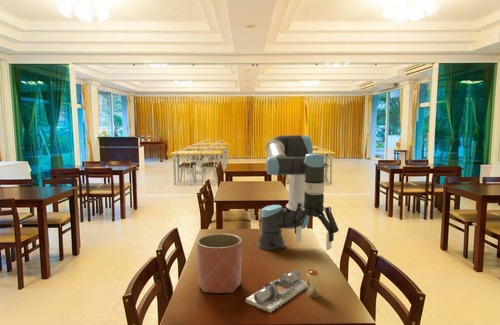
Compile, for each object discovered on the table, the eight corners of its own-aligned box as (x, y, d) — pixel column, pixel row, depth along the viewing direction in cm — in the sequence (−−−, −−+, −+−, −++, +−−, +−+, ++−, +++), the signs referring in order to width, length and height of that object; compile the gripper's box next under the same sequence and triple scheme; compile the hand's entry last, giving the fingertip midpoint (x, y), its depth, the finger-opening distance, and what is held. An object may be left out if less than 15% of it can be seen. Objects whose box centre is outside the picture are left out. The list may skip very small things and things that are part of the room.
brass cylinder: (310, 290, 140) (310, 268, 139) (320, 294, 137) (321, 271, 136) (304, 295, 137) (304, 271, 136) (315, 298, 133) (315, 275, 133)
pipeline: (285, 278, 152) (286, 264, 152) (309, 285, 145) (309, 271, 144) (245, 302, 131) (245, 286, 130) (270, 312, 123) (270, 295, 123)
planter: (201, 275, 155) (201, 233, 153) (243, 276, 155) (243, 233, 153) (193, 295, 136) (192, 247, 134) (240, 296, 136) (240, 248, 134)
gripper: (282, 190, 138) (282, 241, 140) (339, 198, 122) (338, 255, 124) (292, 188, 144) (291, 236, 146) (348, 195, 128) (346, 249, 130)
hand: (313, 245), depth 135 cm, fingers open, 13 cm apart
